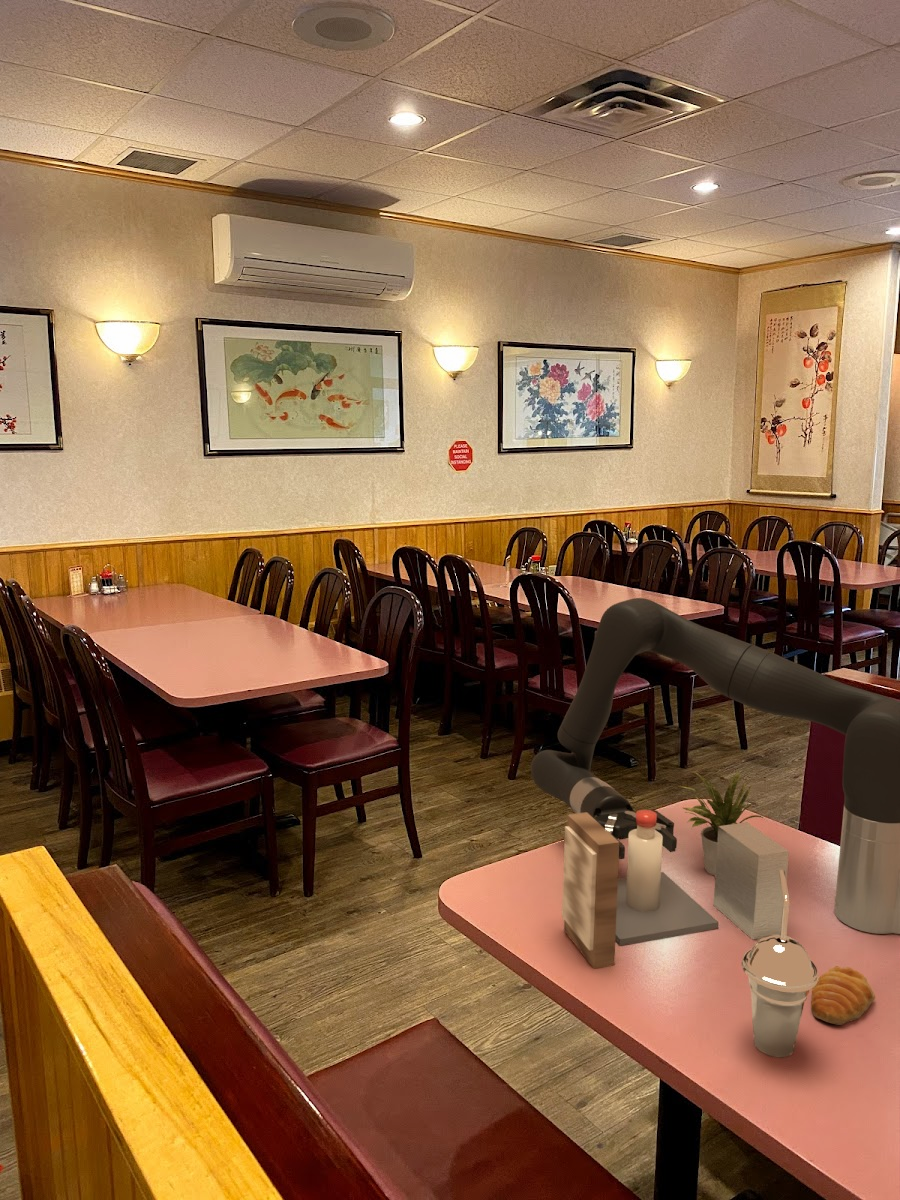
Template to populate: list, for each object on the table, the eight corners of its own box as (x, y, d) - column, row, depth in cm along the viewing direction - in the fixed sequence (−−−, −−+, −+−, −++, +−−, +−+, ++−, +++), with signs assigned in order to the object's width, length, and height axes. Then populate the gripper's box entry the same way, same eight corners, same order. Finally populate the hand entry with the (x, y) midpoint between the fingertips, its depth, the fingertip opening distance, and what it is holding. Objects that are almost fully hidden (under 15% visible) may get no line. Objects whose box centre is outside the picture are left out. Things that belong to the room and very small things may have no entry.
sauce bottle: (662, 898, 140) (667, 810, 138) (655, 914, 136) (659, 823, 133) (630, 891, 143) (634, 804, 140) (622, 906, 138) (625, 817, 135)
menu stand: (560, 930, 133) (563, 815, 130) (582, 927, 134) (586, 812, 131) (590, 969, 124) (594, 845, 121) (614, 964, 125) (619, 842, 122)
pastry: (852, 1038, 111) (854, 1009, 110) (796, 1015, 115) (798, 987, 114) (876, 1002, 117) (879, 975, 117) (823, 981, 122) (825, 955, 121)
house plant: (685, 840, 162) (690, 753, 159) (767, 856, 157) (774, 766, 153) (667, 875, 150) (672, 781, 147) (755, 894, 144) (762, 796, 141)
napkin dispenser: (713, 905, 141) (718, 826, 138) (741, 900, 142) (747, 822, 140) (752, 939, 131) (758, 855, 129) (782, 934, 133) (788, 850, 130)
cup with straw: (724, 1046, 109) (735, 891, 105) (755, 1010, 115) (766, 863, 112) (795, 1080, 103) (810, 917, 99) (823, 1040, 110) (838, 886, 106)
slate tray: (572, 891, 145) (572, 885, 144) (662, 877, 149) (662, 871, 149) (619, 945, 130) (620, 939, 129) (718, 928, 134) (718, 922, 134)
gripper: (561, 790, 149) (606, 832, 134) (639, 780, 153) (692, 820, 138) (559, 833, 150) (604, 879, 135) (637, 822, 154) (689, 866, 139)
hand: (648, 849), depth 136 cm, fingers open, 8 cm apart
